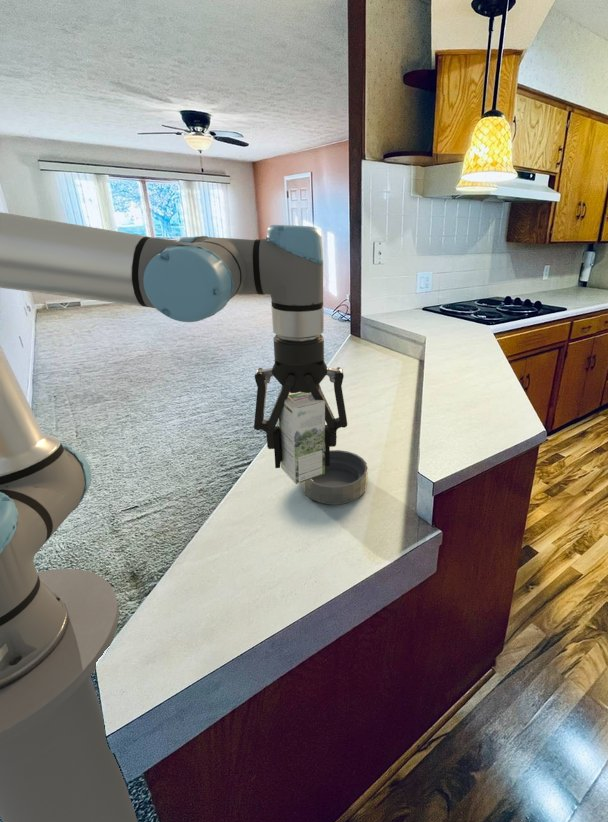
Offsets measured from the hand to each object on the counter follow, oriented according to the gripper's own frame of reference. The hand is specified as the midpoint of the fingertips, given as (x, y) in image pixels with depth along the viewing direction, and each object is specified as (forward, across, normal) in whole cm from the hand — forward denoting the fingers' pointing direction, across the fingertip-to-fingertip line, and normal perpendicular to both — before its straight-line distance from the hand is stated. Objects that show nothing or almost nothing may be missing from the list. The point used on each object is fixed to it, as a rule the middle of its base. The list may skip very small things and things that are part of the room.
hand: (303, 462), depth 71 cm
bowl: (+20, -6, -20) cm, 29 cm away
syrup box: (+2, 0, 0) cm, 2 cm away
